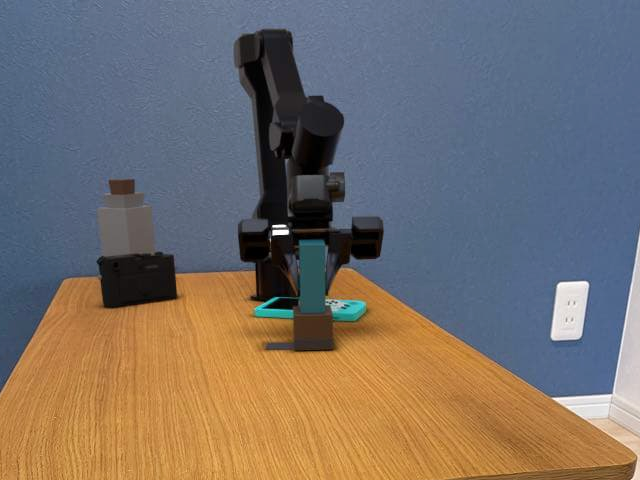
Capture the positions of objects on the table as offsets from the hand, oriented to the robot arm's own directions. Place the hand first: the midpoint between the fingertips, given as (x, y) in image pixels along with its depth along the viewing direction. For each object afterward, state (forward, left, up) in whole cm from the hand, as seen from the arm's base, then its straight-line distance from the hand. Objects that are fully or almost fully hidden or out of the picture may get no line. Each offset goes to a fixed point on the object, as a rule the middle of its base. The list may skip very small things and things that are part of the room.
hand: (312, 294), depth 109 cm
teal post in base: (-1, +1, -7) cm, 7 cm away
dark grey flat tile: (-4, -1, -7) cm, 8 cm away
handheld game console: (-13, +18, -7) cm, 24 cm away
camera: (-44, +10, -7) cm, 46 cm away
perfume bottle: (-56, +20, -7) cm, 60 cm away
